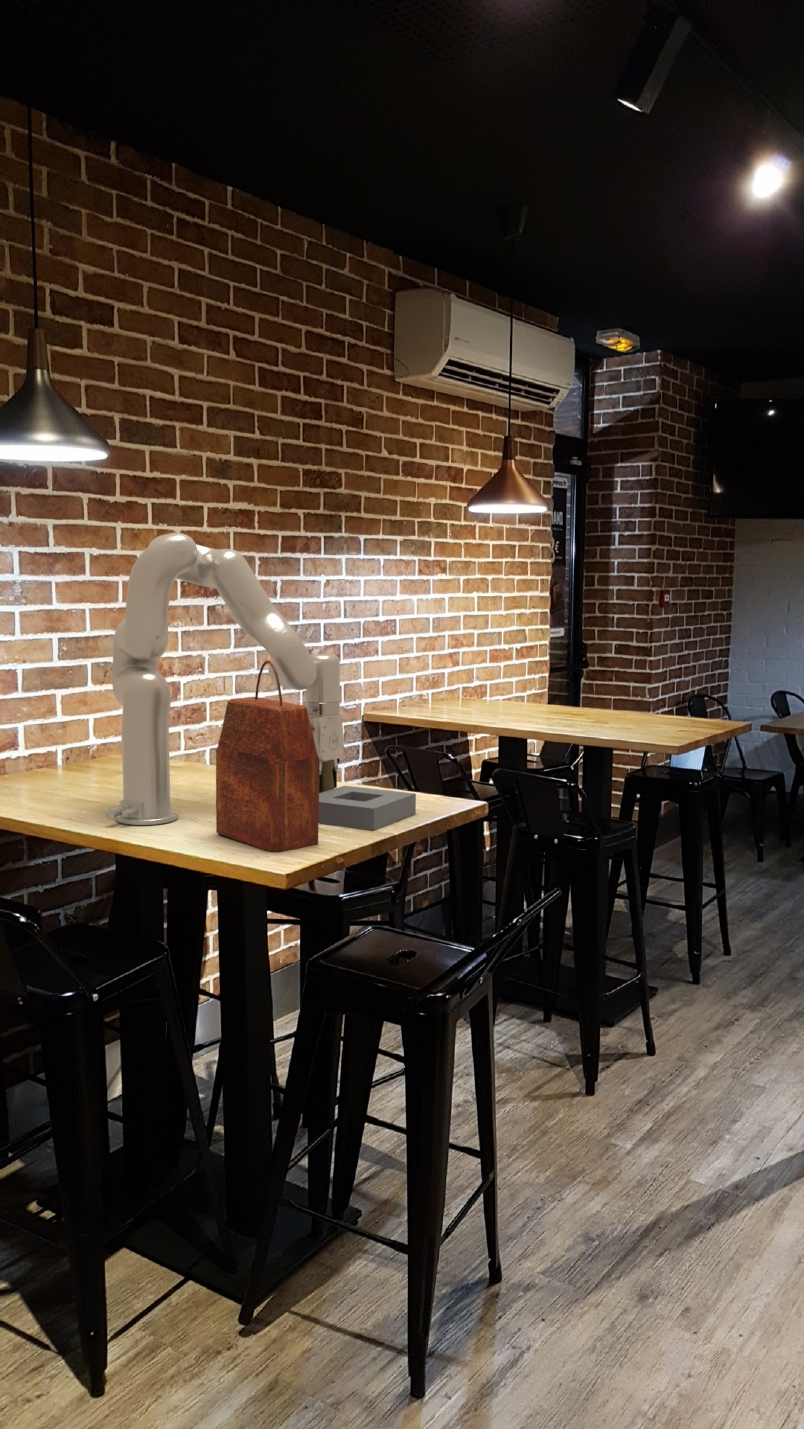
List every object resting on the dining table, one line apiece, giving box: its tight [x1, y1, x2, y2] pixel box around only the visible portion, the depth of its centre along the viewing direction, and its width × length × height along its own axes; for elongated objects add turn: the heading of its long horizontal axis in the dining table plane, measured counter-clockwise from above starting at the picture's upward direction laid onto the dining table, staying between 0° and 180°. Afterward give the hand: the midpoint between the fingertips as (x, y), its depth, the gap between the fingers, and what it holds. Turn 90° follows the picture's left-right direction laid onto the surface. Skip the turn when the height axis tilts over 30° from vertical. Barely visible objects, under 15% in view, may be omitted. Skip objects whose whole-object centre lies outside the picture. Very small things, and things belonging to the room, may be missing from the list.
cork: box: [321, 760, 335, 793], centre depth 237 cm, size 6×6×11 cm
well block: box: [319, 785, 417, 831], centre depth 224 cm, size 18×18×4 cm
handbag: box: [215, 660, 320, 853], centre depth 201 cm, size 10×19×35 cm, turn 43°
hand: (323, 788), depth 237 cm, fingers open, 5 cm apart
